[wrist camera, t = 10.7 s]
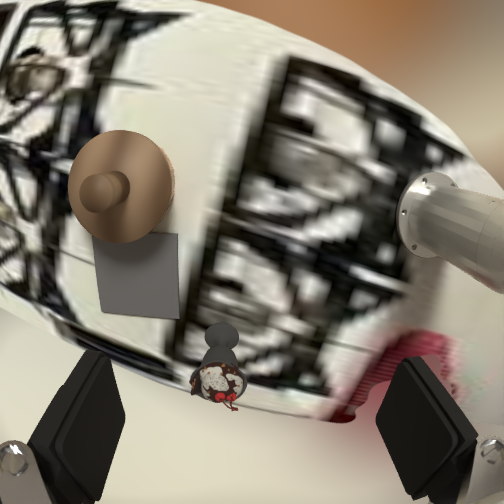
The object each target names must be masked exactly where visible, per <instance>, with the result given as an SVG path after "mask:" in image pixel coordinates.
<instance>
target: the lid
mask: <svg viewBox="0 0 504 504" xmlns="http://www.w3.org/2000/svg"><path fill="white" fill-rule="evenodd" d="M68 193H69V200H70V204H71V207H72V210H73V212H74V214H75V216H76V218H77V219H78V221H79V222H80V224H81V225H82V226H83V227H84V228H85V229H86V230H87V231H88V232H89V233H90V234H92V235H93V236H95V237H97V238H98V239H101V240H103V241H106V242H110V243H128V242H132V241H135V240H137V239H139V238H142V237H143V236H145V235H146V234H148V233H149V232H150V231H151V230H152V229H153V228H155V227H156V226H157V224H158V223H159V222H160V221H161V220H162V218H163V216H164V215H165V213H166V211H167V209H168V206H169V203H170V200H171V195H172V175H171V170H170V167H169V164H168V162H167V159H166V157H165V156H164V154H163V152H162V151H161V150H160V148H159V147H158V146H157V145H156V144H155V143H154V142H153V141H151V140H150V139H149V138H147V137H145V136H143V135H141V134H139V133H136V132H131V131H125V130H114V131H108V132H105V133H102V134H100V135H98V136H96V137H94V138H93V139H91V140H90V141H89V142H88V143H87V144H86V145H85V146H84V147H83V148H82V149H81V150H80V152H79V153H78V154H77V156H76V158H75V160H74V162H73V164H72V167H71V170H70V174H69V181H68Z"/></svg>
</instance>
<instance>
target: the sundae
mask: <svg viewBox="0 0 504 504" xmlns="http://www.w3.org/2000/svg"><path fill="white" fill-rule="evenodd" d="M205 341H206V343H207V344H208V345H209V346H210V347H211V348H210V349H209V350H208V351H207V353H206V354H205V356H204V358H203V361H202V364H201V366H200V367H199V368H197V369H196V370H195V371H194V372H193V373H192V375H191V378H190V381H189V382H190V384H191V385H192V390H191V395H195V394H198V395H199V396H200V397H202V398H204V399H206V400H209V401H212V402H215V403H220V402H223V403H224V404H225V402H224V401H231V402H230V406H231V408H230V407H229V406H227V405H226V404H225V405H226V406H227V407H228V408H230V409H232V411H234V410H236V411H238V408H234V407H232V405H231V404H232V401H235V400H236V399H237V398H239V397H240V396H241V395H242V394H243V393H244V391H245V389H246V387H247V378H246V376H245V375H244V374H243V373H242V372H241V371H240V370H239V369H238V364H237V359H236V356H235V354H234V352H233V351H232V350H231V349H232V348H234V347H235V346H236V345H237V343H238V341H239V334H238V332H237V330H236V329H235V328H234V327H232V326H231V325H228V324H225V323H217V324H214V325H211V326H210V327H209V328H208V329H207V330H206V332H205Z"/></svg>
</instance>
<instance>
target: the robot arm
mask: <svg viewBox="0 0 504 504" xmlns="http://www.w3.org/2000/svg"><path fill="white" fill-rule="evenodd" d="M402 210H403V211H402ZM396 224H397V231H398V234H399V237H400V239H401V241H402V243H403V244H404V246H405V247H406V248H407V249H408V250H409V251H411V252H412V253H413V254H415V255H417V256H419V257H423V258H432V257H436V256H439V257H441V258H443V259H444V260H446V261H448V262H449V263H451V264H452V265H454V266H456V267H457V268H459V269H460V270H462V271H464V272H465V273H467V274H468V275H470V276H471V277H473V278H474V279H476V280H477V281H479V282H481V283H482V284H484V285H485V286H487V287H488V288H490V289H491V290H493V291H495V292H497V293H500V294H504V200H502V199H499V198H495V197H492V196H488V195H484V194H481V193H477V192H473V191H469V190H465V189H461V188H458V186H457V184H456V183H455V182H454V181H453V180H452V179H451V178H450V177H448V176H447V175H445V174H442V173H439V172H426V173H422V174H420V175H418V176H416V177H415V178H414V179H413V180H411V181H410V182H409V184H408V185H407V186H406V187H405V189H404V191H403V193H402V194H401V197H400V199H399V202H398V206H397V212H396ZM124 423H125V412H124V409H123V405H122V402H121V398H120V395H119V391H118V388H117V384H116V380H115V376H114V372H113V368H112V364H111V360H110V358H108V357H106V355H105V353H103V352H99V351H93V350H86V351H85V352H84V354H83V355H82V357H81V358H80V360H79V362H78V363H77V365H76V366H75V368H74V369H73V371H72V372H71V374H70V376H69V377H68V379H67V380H66V382H65V383H64V385H62V386H61V387H60V388H59V390H58V391H57V393H56V395H55V396H54V398H53V400H52V401H51V403H50V405H49V406H48V408H47V409H46V411H45V413H44V415H43V416H42V418H41V420H40V421H39V423H38V425H37V427H36V429H35V430H34V432H33V434H32V435H31V437H30V439H29V441H28V443H27V445H26V444H24V443H23V442H20V441H16V440H14V441H7V442H4V443H2V444H1V445H0V504H94V503H95V501H99V500H100V499H101V496H102V493H103V489H104V485H105V483H106V479H107V476H108V473H109V469H110V466H111V463H112V460H113V457H114V454H115V450H116V448H117V444H118V442H119V439H120V436H121V433H122V429H123V427H124ZM376 425H377V427H378V429H379V432H380V434H381V436H382V438H383V440H384V443H385V445H386V447H387V449H388V452H389V454H390V456H391V458H392V461H393V463H394V465H395V468H396V470H397V472H398V474H399V477H400V479H401V481H402V484H403V486H404V488H405V491H406V493H407V494H409V495H411V497H412V499H413V500H417V499H420V498H422V497H425V496H427V495H428V497H429V499H430V500H429V503H428V504H504V441H503V440H502V439H500V438H498V437H496V436H490V435H489V436H485V437H483V438H481V439H480V440H479V441H478V442H477V440H476V438H477V437H478V433H477V432H476V430H475V429H474V427H473V426H472V425H471V423H470V422H469V420H468V419H467V417H466V416H465V415H464V413H463V412H462V410H461V409H460V408H459V406H458V405H457V404H456V402H455V401H454V400H453V398H452V397H451V395H450V394H449V393H448V392H447V390H446V389H445V387H444V386H443V385H442V384H441V382H440V381H439V380H438V378H437V377H436V376H435V374H434V373H433V372H432V371H431V369H430V368H429V367H428V365H427V364H426V363H425V362H424V360H423V359H422V358H421V357H420V356H415V357H407V358H404V359H403V360H402V362H401V363H399V364H398V366H397V368H396V371H395V373H394V376H393V378H392V381H391V383H390V385H389V388H388V390H387V392H386V395H385V397H384V399H383V402H382V404H381V406H380V408H379V410H378V413H377V415H376Z"/></svg>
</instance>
